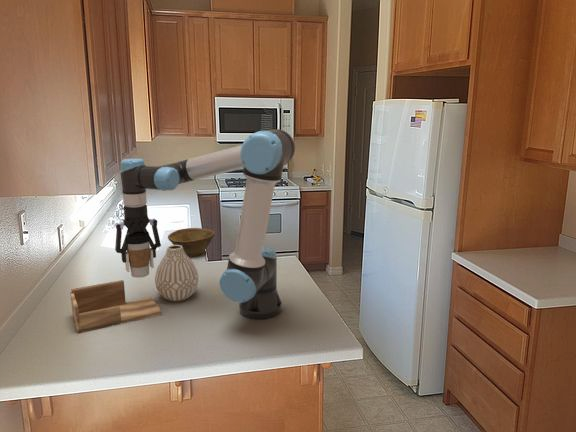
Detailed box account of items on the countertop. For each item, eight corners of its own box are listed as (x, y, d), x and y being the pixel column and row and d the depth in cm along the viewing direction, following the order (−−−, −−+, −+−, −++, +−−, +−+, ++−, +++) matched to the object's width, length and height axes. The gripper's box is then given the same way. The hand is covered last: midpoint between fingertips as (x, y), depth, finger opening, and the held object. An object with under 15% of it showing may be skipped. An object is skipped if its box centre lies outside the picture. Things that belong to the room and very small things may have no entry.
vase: (154, 307, 168) (150, 254, 163) (157, 290, 183) (154, 241, 178) (199, 303, 171) (197, 252, 166) (199, 287, 186) (196, 239, 181)
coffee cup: (157, 274, 163) (154, 233, 159) (135, 280, 157) (132, 238, 153) (144, 268, 168) (141, 228, 165) (123, 274, 162) (119, 233, 159)
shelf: (161, 314, 162) (159, 287, 160) (77, 333, 149) (74, 304, 147) (151, 300, 174) (149, 275, 171) (72, 316, 161) (69, 289, 158)
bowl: (160, 252, 228) (159, 233, 226) (201, 243, 243) (200, 225, 241) (182, 264, 212) (181, 243, 210) (224, 253, 227) (223, 233, 225)
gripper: (162, 199, 165) (166, 260, 170) (101, 205, 155) (107, 270, 160) (168, 203, 158) (172, 267, 164) (105, 210, 148) (111, 277, 154)
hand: (140, 268), depth 162 cm, fingers closed on coffee cup, 7 cm apart
